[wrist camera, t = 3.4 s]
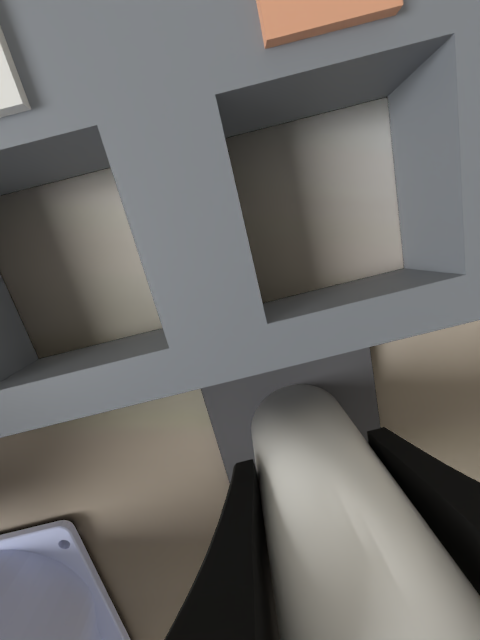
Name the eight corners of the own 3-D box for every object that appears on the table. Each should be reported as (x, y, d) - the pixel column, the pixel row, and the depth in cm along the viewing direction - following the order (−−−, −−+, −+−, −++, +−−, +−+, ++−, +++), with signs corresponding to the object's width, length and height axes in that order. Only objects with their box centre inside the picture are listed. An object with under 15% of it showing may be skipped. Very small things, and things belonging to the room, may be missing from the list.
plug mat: (381, 466, 14) (386, 474, 13) (237, 500, 14) (237, 510, 13) (361, 327, 12) (367, 331, 11) (197, 368, 12) (196, 373, 11)
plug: (350, 454, 13) (544, 775, 5) (262, 475, 13) (319, 826, 5) (336, 373, 12) (550, 616, 4) (241, 397, 12) (271, 681, 4)
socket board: (443, 295, 12) (526, 312, 8) (18, 400, 12) (-58, 456, 9) (419, -83, 9) (530, -274, 6) (-145, 65, 9) (-350, -36, 6)
